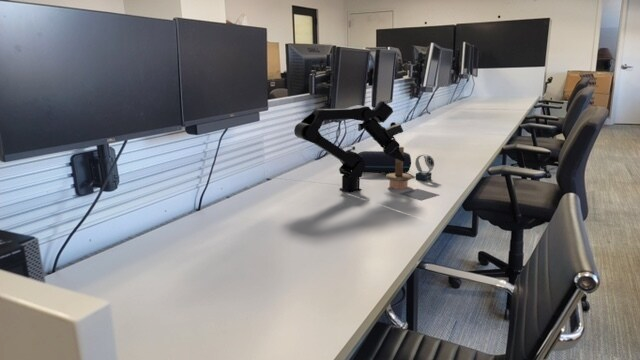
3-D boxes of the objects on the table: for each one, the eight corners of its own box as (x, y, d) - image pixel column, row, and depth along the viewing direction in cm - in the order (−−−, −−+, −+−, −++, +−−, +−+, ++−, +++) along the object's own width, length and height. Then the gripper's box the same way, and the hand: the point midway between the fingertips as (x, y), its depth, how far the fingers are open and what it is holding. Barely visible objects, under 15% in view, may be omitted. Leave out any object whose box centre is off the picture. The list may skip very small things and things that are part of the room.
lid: (399, 182, 175) (400, 150, 172) (381, 177, 183) (381, 147, 179) (416, 178, 181) (418, 147, 178) (397, 173, 189) (399, 144, 185)
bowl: (398, 190, 178) (399, 181, 177) (386, 187, 183) (386, 177, 182) (410, 187, 182) (411, 178, 181) (397, 184, 188) (398, 174, 187)
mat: (421, 201, 165) (421, 200, 165) (398, 194, 173) (398, 193, 173) (440, 195, 171) (440, 194, 171) (417, 189, 180) (417, 188, 180)
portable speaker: (409, 170, 210) (410, 149, 207) (411, 176, 201) (412, 154, 198) (355, 169, 212) (355, 149, 210) (355, 175, 203) (355, 153, 200)
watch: (428, 182, 189) (430, 157, 186) (412, 179, 194) (413, 154, 192) (435, 180, 193) (436, 155, 190) (419, 177, 198) (420, 152, 195)
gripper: (394, 119, 166) (422, 148, 169) (388, 113, 184) (414, 140, 187) (372, 140, 169) (400, 169, 171) (368, 132, 187) (394, 158, 189)
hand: (403, 158), depth 180 cm, fingers open, 9 cm apart
